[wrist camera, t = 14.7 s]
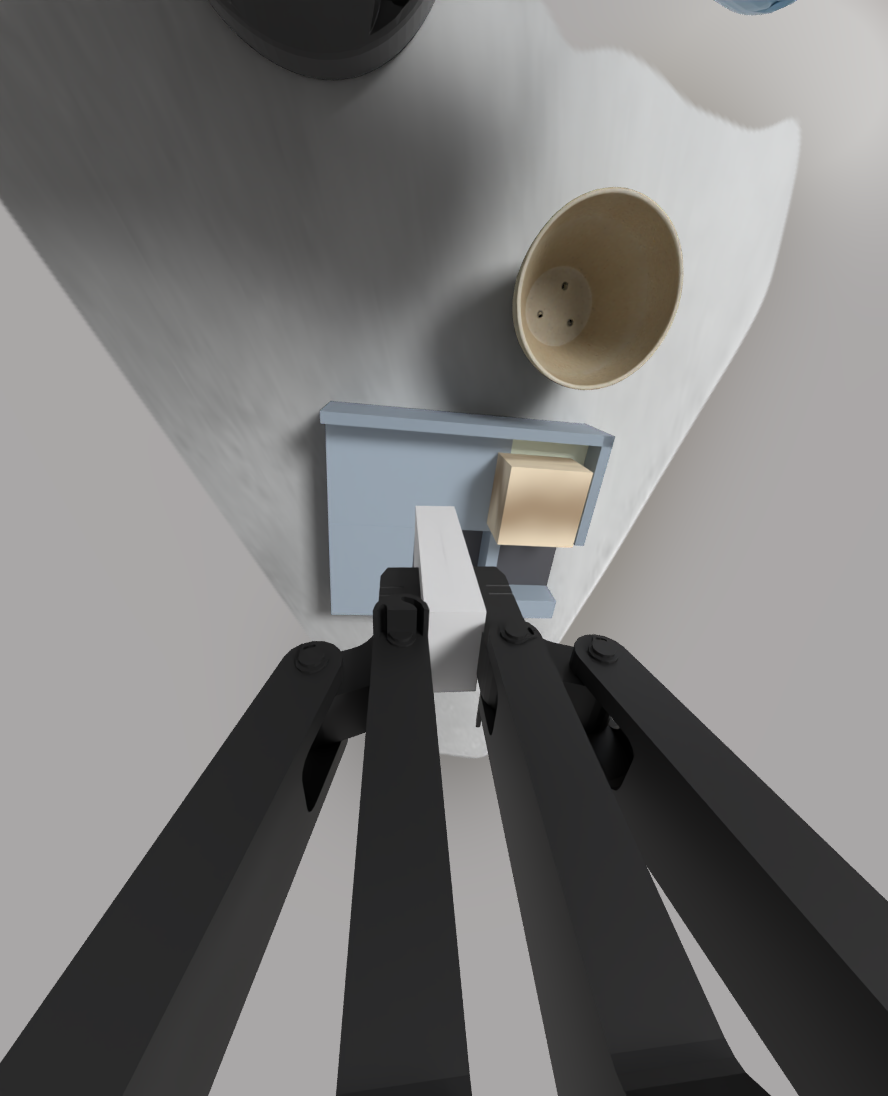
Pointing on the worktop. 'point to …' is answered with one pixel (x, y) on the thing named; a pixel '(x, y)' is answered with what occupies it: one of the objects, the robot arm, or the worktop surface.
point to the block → (537, 500)
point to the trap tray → (436, 492)
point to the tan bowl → (598, 288)
